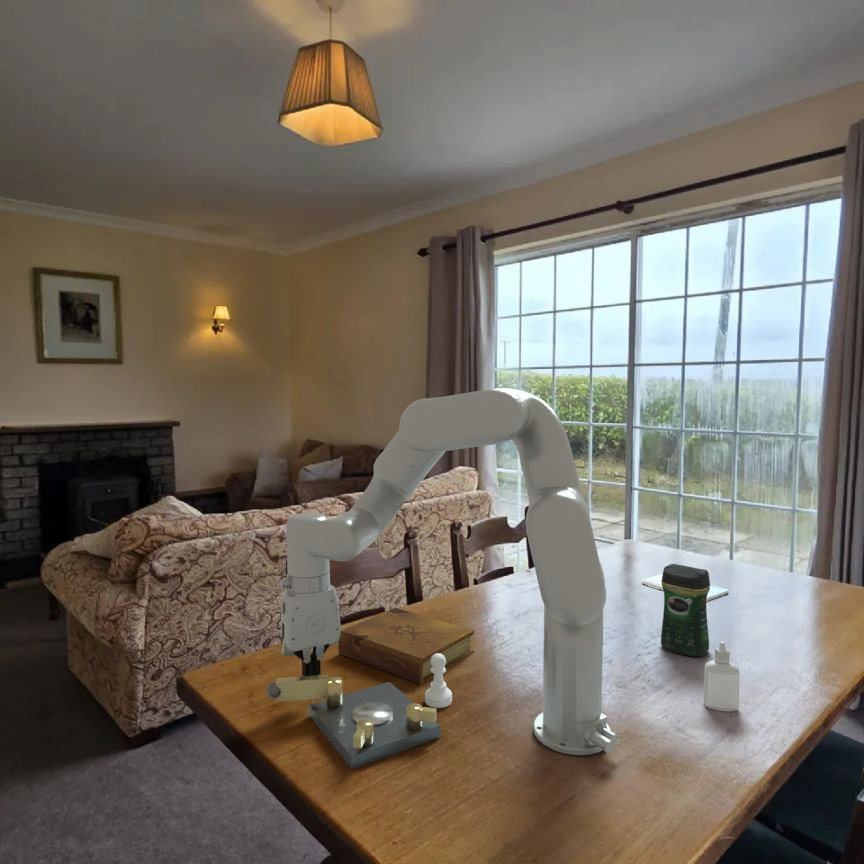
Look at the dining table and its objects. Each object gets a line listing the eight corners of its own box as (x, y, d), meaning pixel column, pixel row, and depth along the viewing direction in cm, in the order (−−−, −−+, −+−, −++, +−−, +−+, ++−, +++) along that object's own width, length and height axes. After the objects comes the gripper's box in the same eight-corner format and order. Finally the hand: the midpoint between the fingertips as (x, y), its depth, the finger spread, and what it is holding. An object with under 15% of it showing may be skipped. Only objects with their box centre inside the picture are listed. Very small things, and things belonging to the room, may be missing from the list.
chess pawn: (420, 705, 111) (420, 657, 110) (430, 692, 116) (430, 646, 115) (446, 710, 109) (446, 662, 109) (455, 697, 114) (455, 650, 113)
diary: (338, 657, 133) (337, 631, 132) (395, 630, 147) (394, 607, 147) (420, 687, 119) (420, 659, 118) (474, 654, 133) (474, 629, 133)
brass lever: (342, 698, 110) (342, 672, 109) (342, 705, 107) (342, 679, 106) (267, 703, 108) (267, 677, 107) (265, 711, 105) (265, 684, 105)
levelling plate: (441, 738, 100) (441, 709, 100) (352, 771, 92) (352, 739, 92) (389, 691, 116) (389, 666, 116) (309, 715, 108) (308, 688, 107)
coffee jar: (713, 650, 134) (715, 567, 133) (699, 661, 128) (702, 575, 127) (670, 637, 141) (671, 558, 139) (655, 648, 135) (656, 566, 134)
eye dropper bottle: (733, 717, 107) (735, 650, 106) (700, 706, 110) (702, 641, 109) (741, 707, 110) (743, 642, 109) (708, 697, 114) (710, 634, 113)
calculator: (666, 577, 188) (667, 571, 187) (730, 595, 171) (730, 588, 171) (639, 585, 180) (640, 579, 180) (703, 604, 164) (703, 598, 163)
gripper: (274, 595, 103) (278, 700, 105) (355, 580, 111) (357, 677, 113) (261, 583, 110) (265, 682, 111) (339, 570, 118) (341, 662, 119)
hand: (311, 679), depth 112 cm, fingers closed
